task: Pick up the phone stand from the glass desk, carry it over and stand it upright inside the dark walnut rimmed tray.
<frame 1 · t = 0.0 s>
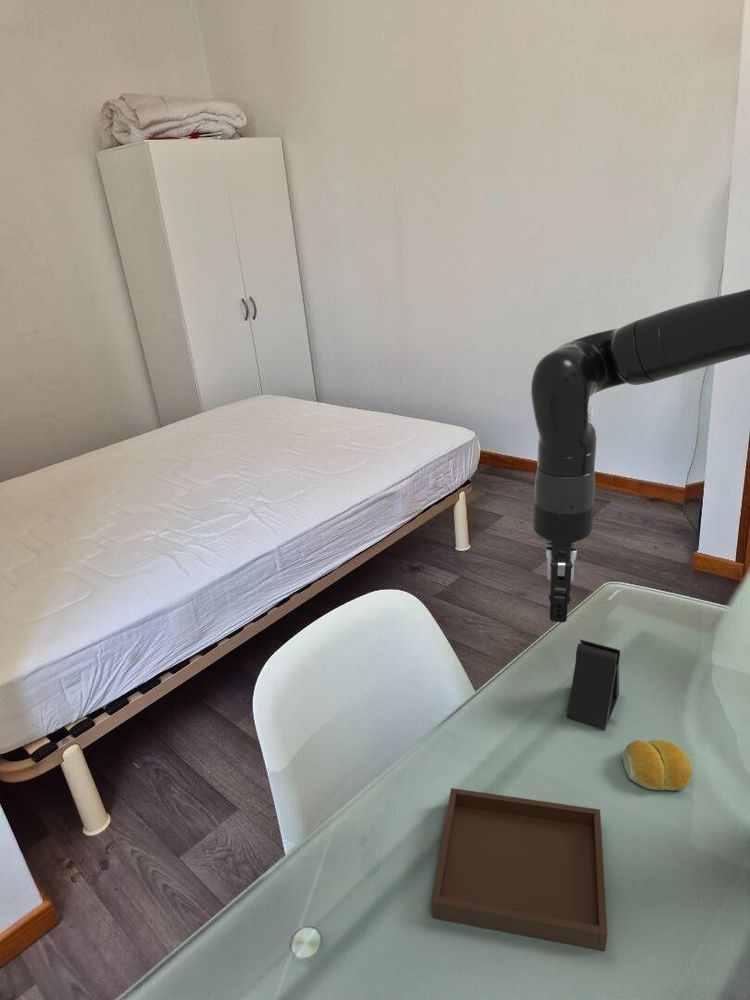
hand: (558, 602, 96), 24 cm above the table, tool pointing down, fingers open, 8 cm apart
bread roll: (654, 772, 99), on the table
tray: (519, 869, 86), on the table
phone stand: (593, 707, 111), on the table
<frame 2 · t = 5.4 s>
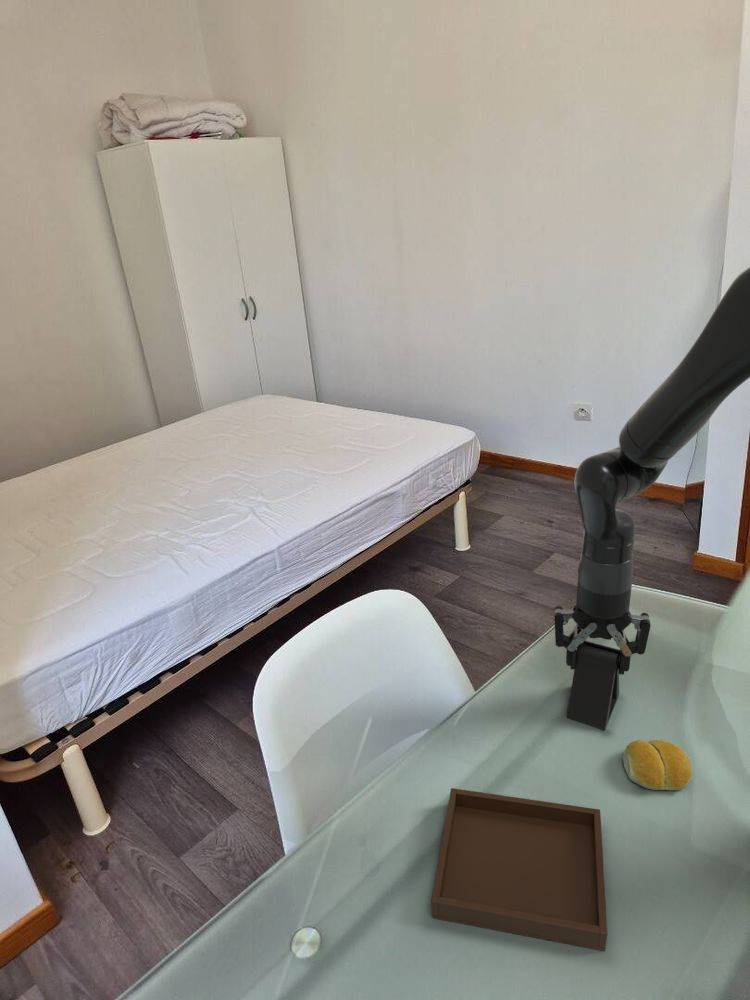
hand: (596, 668, 107), 8 cm above the table, tool pointing down, fingers closed on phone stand, 6 cm apart
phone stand: (593, 707, 111), on the table, touching gripper
everything else where it was.
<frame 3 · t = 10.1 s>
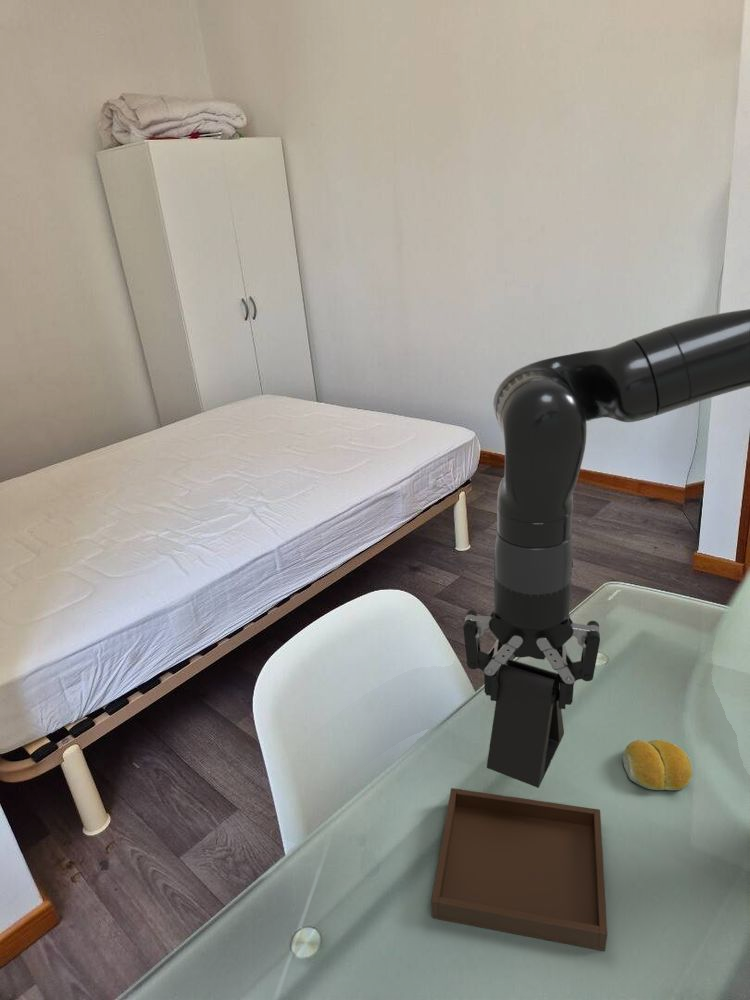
hand: (528, 699, 75), 27 cm above the table, tool pointing down, fingers closed on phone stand, 6 cm apart
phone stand: (526, 752, 79), point 19 cm above the table, touching gripper
everything else where it was.
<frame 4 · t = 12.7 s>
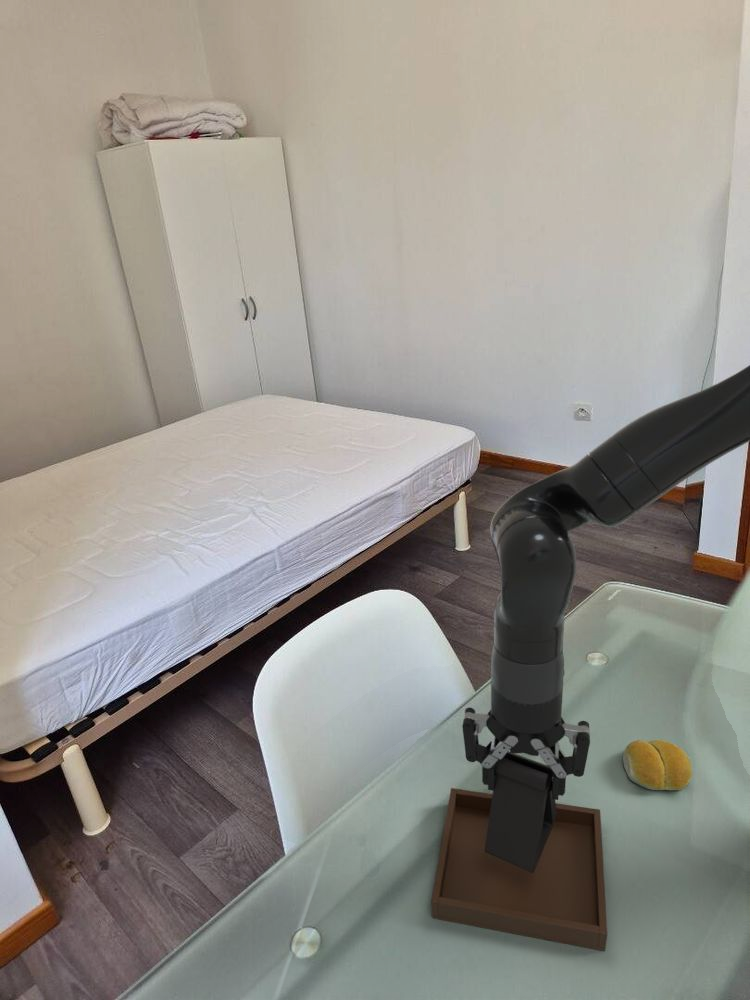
hand: (523, 788, 80), 14 cm above the table, tool pointing down, fingers closed on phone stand, 6 cm apart
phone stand: (521, 835, 84), point 6 cm above the table, touching gripper
everything else where it was.
when the fingers open (8 cm above the table, at t = 14.8 s): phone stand stays where it is, resting on tray.
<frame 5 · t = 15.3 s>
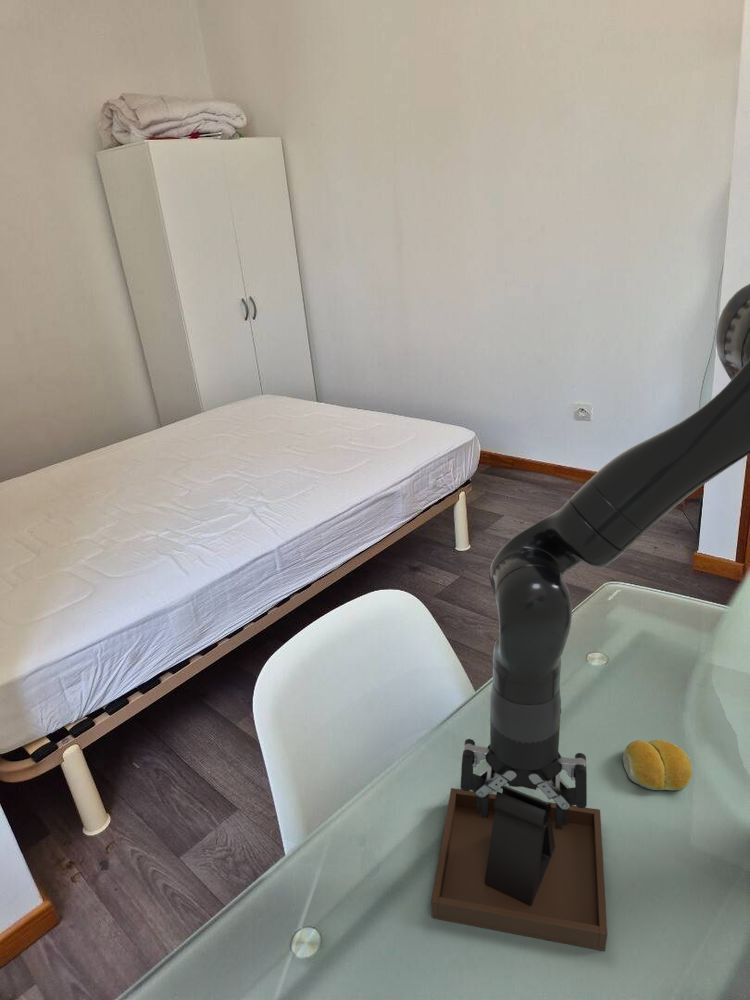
hand: (521, 817, 82), 9 cm above the table, tool pointing down, fingers open, 8 cm apart
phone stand: (520, 866, 86), resting on tray
everything else where it was.
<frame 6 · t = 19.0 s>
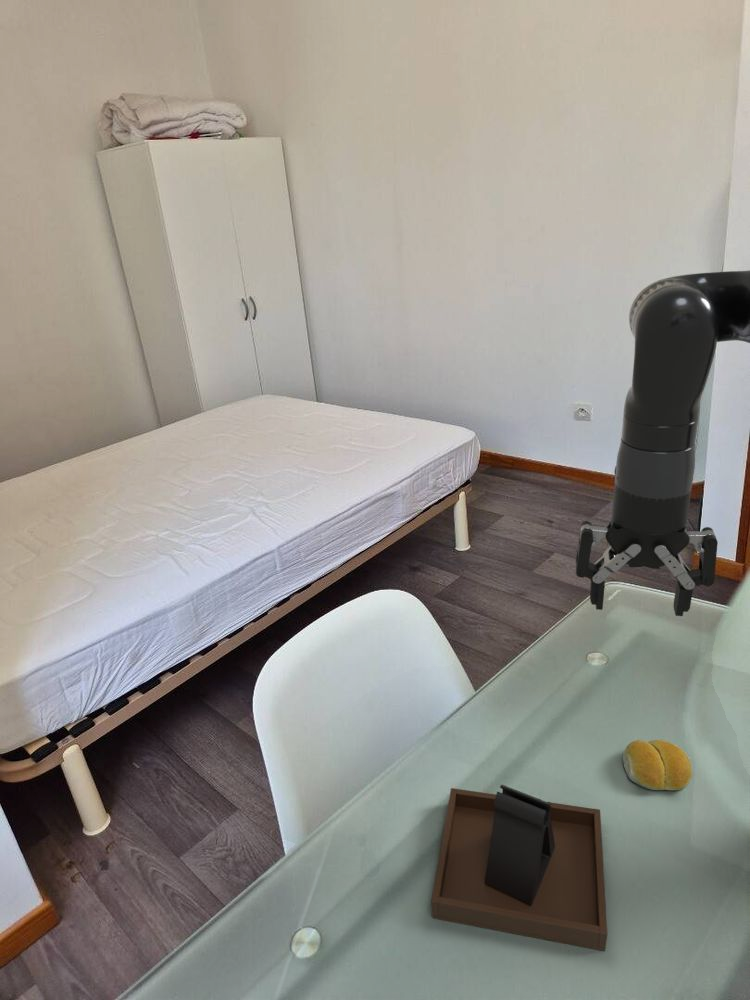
hand: (638, 609, 79), 33 cm above the table, tool pointing down, fingers open, 8 cm apart
nothing on the table moved.
at the end: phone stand inside the target area in the tray (0.1 cm from its centre), point 0.4 cm above the tray's base; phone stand tilted 0°; the gripper is holding nothing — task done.
